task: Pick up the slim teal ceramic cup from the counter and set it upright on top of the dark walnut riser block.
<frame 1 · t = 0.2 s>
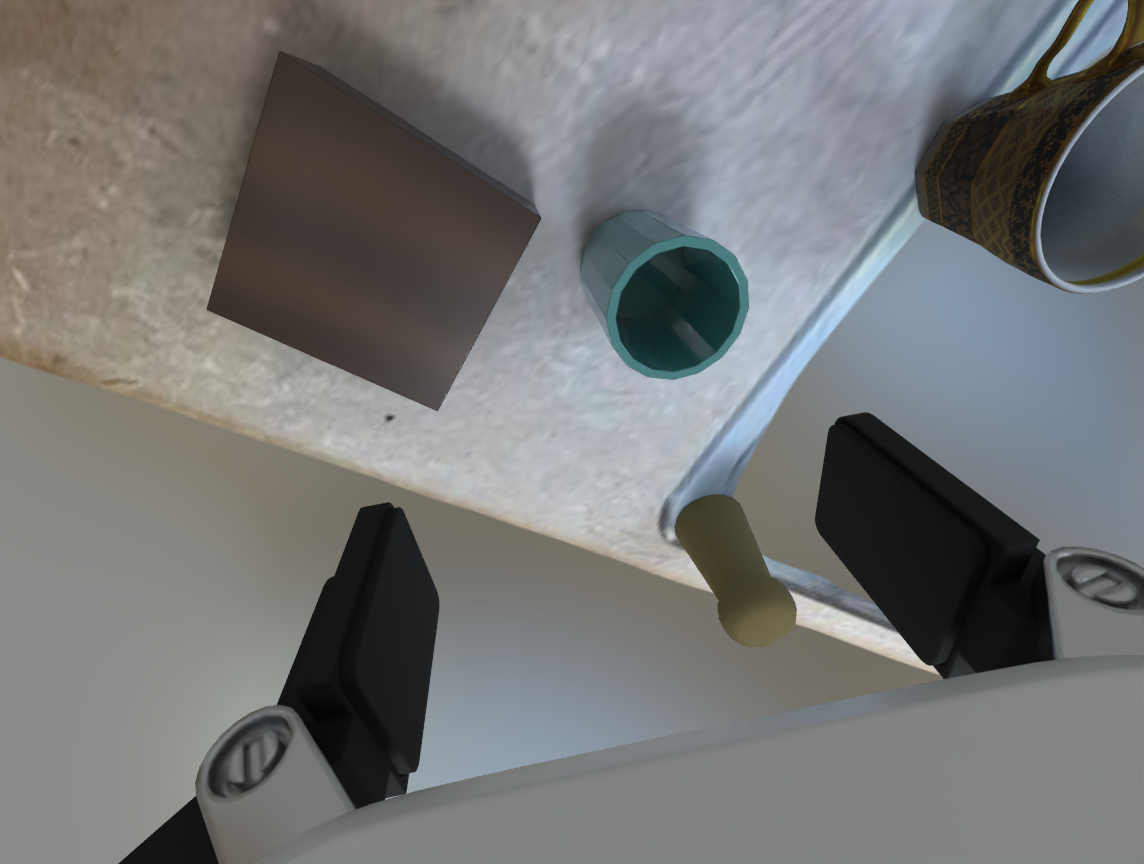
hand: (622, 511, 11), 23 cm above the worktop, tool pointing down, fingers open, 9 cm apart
ceramic cup: (962, 141, 29), on the worktop
olive pepper mill: (708, 521, 43), on the worktop
riser: (392, 244, 28), on the worktop
teal cup: (634, 268, 31), on the worktop
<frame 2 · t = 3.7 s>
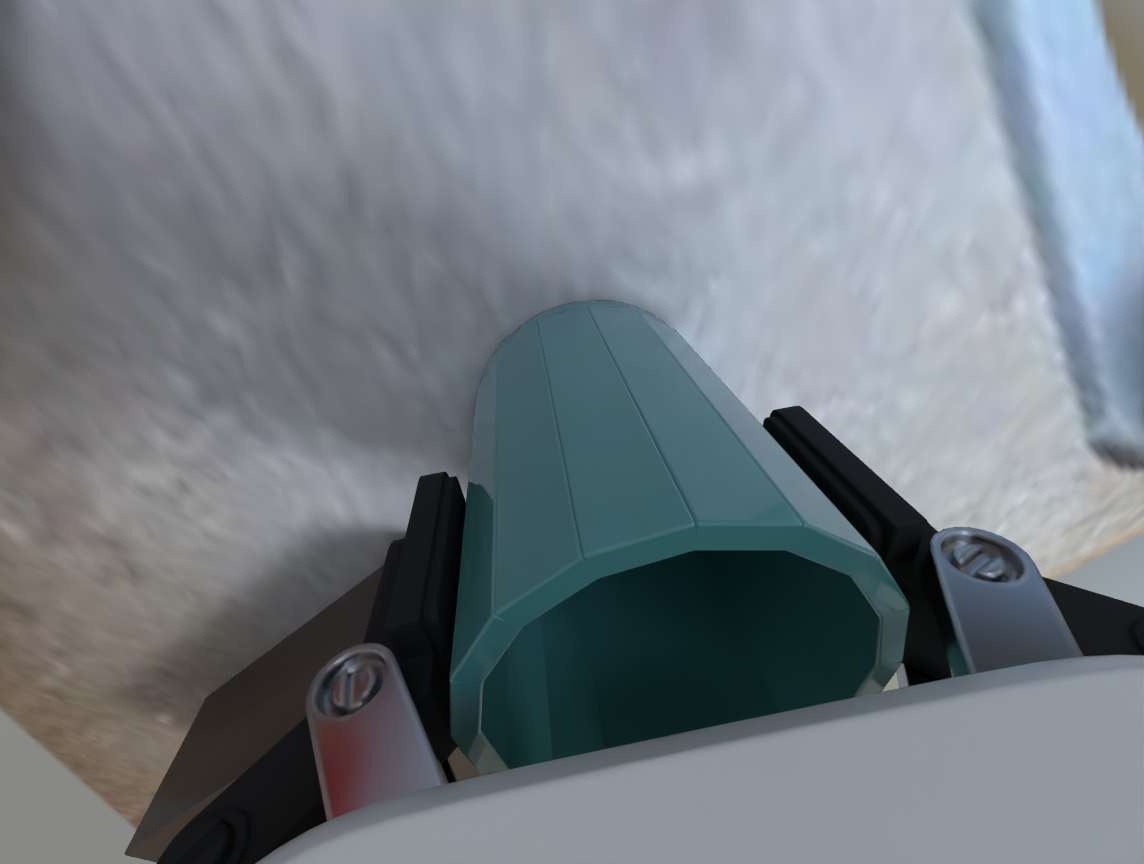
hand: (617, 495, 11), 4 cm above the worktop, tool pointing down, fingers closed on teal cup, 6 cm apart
riser: (430, 687, 21), on the worktop
teal cup: (589, 410, 15), on the worktop, touching gripper
when the fingers open (9 cm above the worktop, at t = 10.0 s): teal cup stays where it is, resting on riser.
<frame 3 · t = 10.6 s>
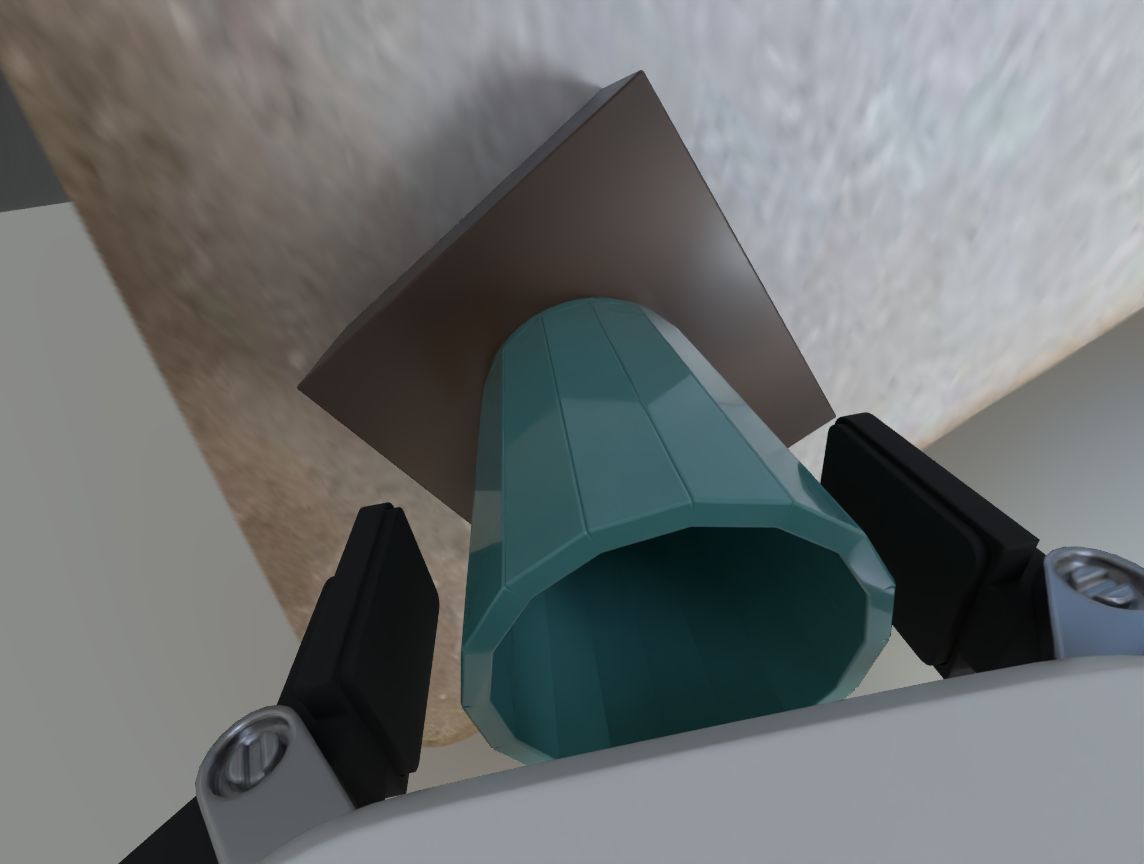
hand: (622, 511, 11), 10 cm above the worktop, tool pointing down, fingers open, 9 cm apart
riser: (571, 345, 20), on the worktop
teal cup: (592, 404, 15), point 5 cm above the worktop, touching riser
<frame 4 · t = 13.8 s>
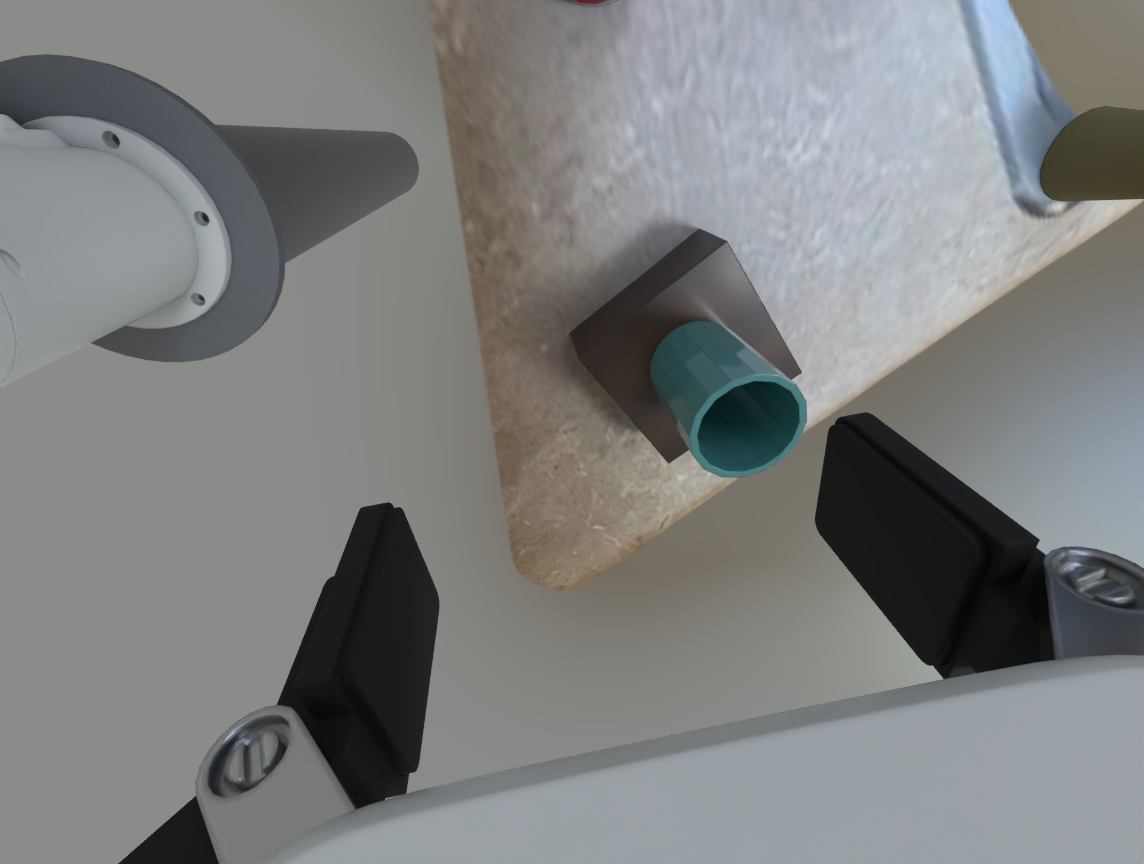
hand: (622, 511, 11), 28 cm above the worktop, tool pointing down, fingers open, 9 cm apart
olive pepper mill: (1079, 155, 36), on the worktop
riser: (673, 340, 40), on the worktop
teal cup: (695, 365, 35), point 5 cm above the worktop, touching riser
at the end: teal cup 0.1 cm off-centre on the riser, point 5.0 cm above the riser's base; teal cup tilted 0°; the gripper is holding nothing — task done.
